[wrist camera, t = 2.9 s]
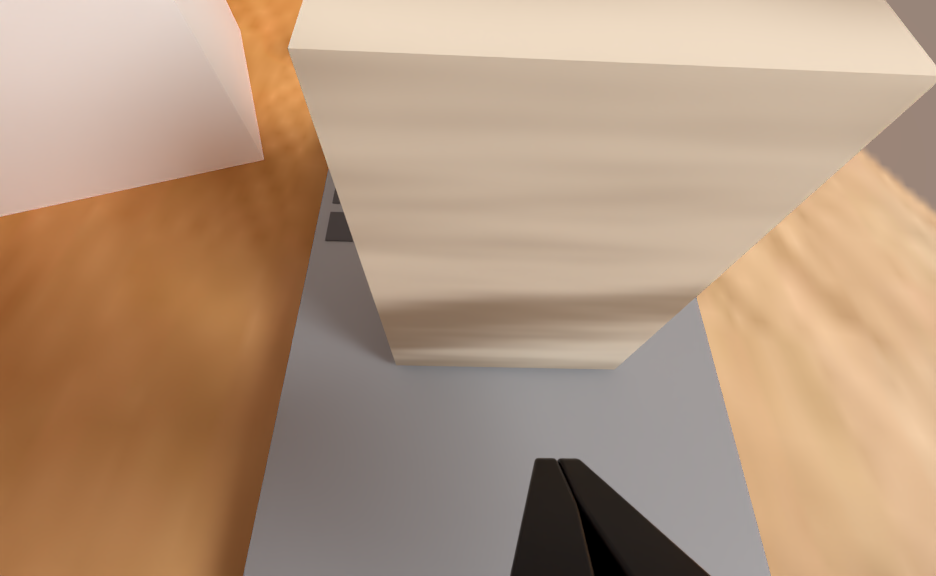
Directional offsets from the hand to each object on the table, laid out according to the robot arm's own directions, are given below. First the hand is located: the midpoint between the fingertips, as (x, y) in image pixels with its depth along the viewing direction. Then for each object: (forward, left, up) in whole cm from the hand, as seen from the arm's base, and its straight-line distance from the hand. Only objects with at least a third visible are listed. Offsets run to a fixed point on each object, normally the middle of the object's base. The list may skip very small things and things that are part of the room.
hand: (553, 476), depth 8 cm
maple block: (+5, +4, -6) cm, 9 cm away
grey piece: (+8, +5, -8) cm, 12 cm away
